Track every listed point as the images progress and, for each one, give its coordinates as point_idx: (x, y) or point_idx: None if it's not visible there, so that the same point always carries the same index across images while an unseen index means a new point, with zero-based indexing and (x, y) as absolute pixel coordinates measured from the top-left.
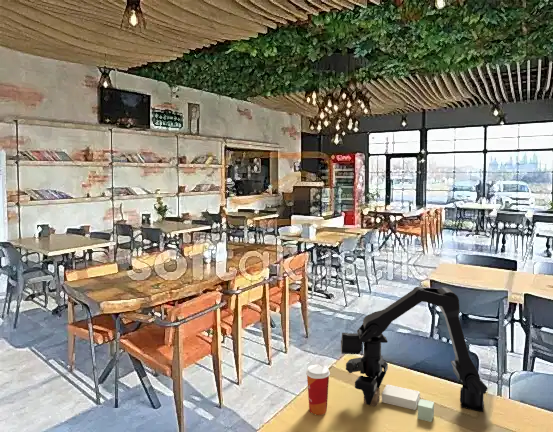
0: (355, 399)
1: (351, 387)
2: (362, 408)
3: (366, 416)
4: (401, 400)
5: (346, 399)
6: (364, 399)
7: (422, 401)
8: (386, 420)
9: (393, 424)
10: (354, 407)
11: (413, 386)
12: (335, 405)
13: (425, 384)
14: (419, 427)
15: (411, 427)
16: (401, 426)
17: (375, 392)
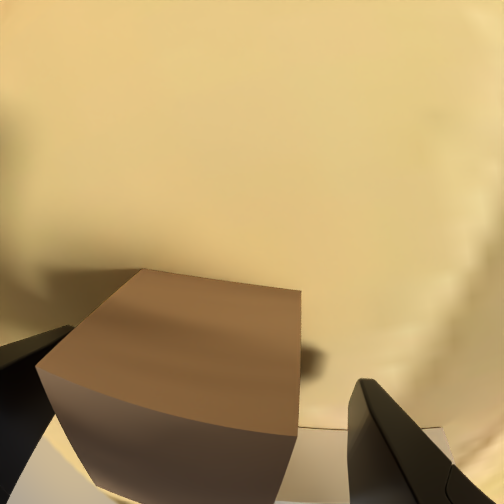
0: (190, 146)
1: (489, 51)
2: (61, 270)
3: (8, 310)
4: None
5: (148, 43)
6: (117, 301)
7: None
8: (54, 415)
9: (53, 434)
10: (41, 191)
11: (494, 485)
12: (25, 24)
13: (498, 499)
14: (111, 499)
15: (89, 481)
16: (66, 456)
17: (116, 487)
